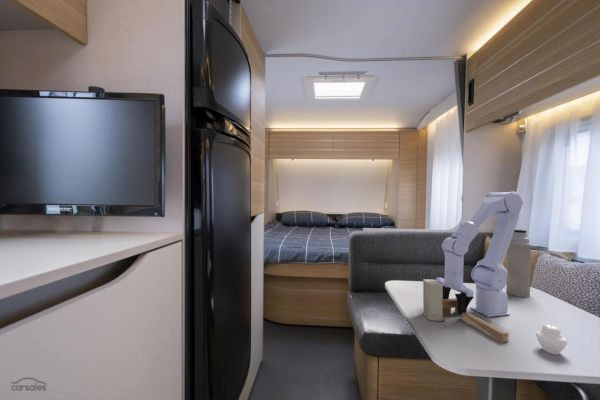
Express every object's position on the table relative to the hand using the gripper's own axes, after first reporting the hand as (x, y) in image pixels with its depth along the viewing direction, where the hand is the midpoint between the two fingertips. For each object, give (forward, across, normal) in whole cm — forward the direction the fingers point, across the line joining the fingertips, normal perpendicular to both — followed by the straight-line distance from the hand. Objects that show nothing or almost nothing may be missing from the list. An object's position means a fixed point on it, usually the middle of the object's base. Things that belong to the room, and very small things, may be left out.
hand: (452, 309), depth 94 cm
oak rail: (+1, +12, 0) cm, 12 cm away
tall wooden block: (+1, 0, 0) cm, 1 cm away
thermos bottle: (+2, -12, +45) cm, 47 cm away
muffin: (+2, +25, +8) cm, 26 cm away
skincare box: (+2, +1, -9) cm, 9 cm away
